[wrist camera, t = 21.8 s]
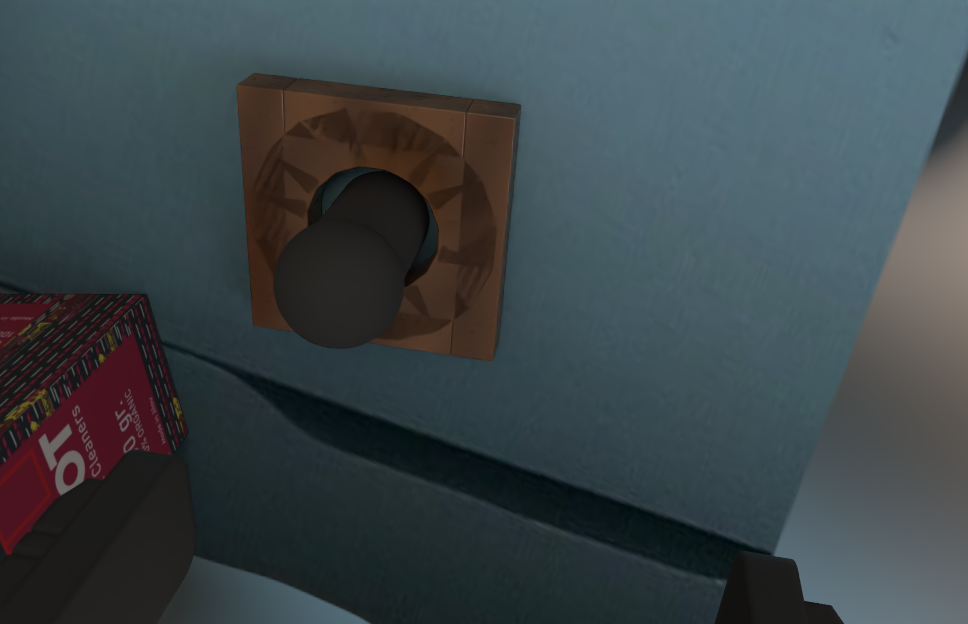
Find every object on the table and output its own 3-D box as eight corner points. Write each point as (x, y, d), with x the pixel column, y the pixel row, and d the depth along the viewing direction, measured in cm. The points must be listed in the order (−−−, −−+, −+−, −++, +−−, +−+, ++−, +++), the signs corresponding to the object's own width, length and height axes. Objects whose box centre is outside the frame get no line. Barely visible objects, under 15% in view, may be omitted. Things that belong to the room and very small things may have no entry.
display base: (521, 104, 38) (515, 118, 36) (499, 340, 44) (492, 362, 42) (253, 72, 39) (235, 84, 37) (267, 306, 45) (252, 326, 43)
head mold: (440, 170, 40) (387, 263, 32) (435, 272, 43) (385, 382, 34) (329, 156, 41) (249, 244, 32) (331, 257, 43) (256, 363, 35)
